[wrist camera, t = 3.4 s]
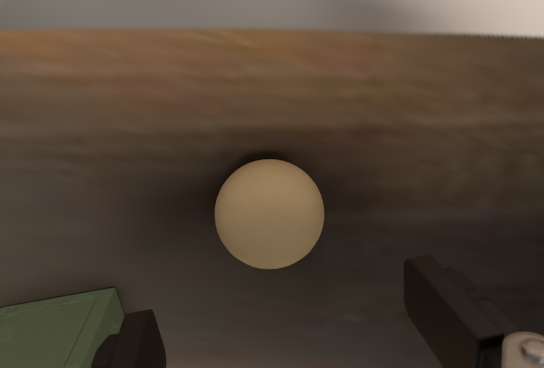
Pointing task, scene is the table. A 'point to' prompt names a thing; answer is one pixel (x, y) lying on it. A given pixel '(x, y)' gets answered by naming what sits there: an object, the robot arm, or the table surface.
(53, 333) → the bin
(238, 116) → the table surface
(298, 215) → the tan ball
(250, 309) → the table surface
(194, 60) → the table surface
